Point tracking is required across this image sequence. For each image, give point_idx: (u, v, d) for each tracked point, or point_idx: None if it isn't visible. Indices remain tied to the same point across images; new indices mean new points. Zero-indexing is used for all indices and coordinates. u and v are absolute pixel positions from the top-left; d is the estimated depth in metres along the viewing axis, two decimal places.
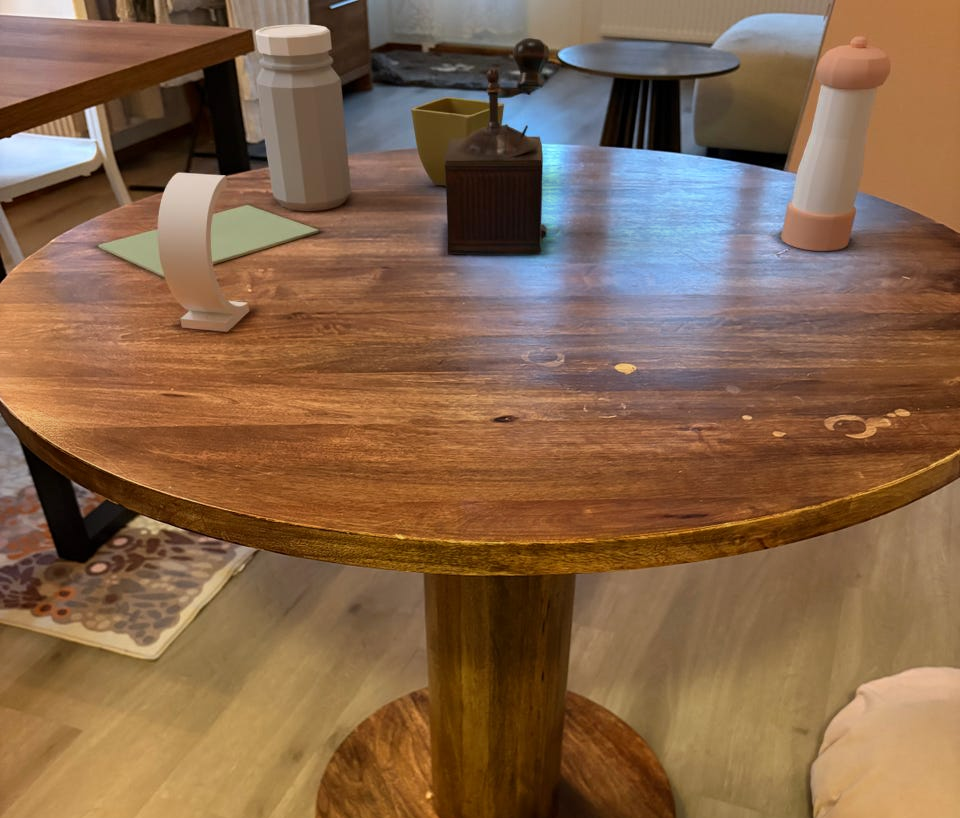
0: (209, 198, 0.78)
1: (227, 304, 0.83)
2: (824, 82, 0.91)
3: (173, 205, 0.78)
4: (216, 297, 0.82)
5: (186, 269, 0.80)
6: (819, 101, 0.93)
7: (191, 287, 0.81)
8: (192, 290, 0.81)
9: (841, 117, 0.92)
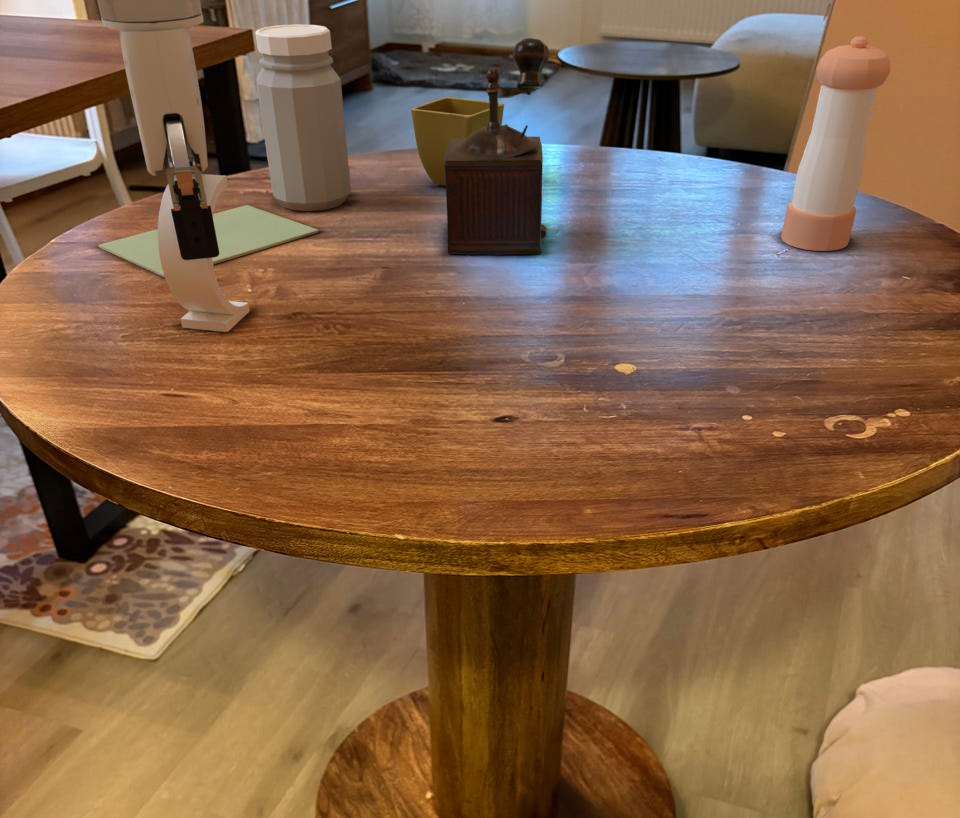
0: (209, 198, 0.78)
1: (227, 304, 0.83)
2: (824, 82, 0.91)
3: None
4: (216, 297, 0.82)
5: (187, 270, 0.80)
6: (819, 101, 0.93)
7: (191, 287, 0.81)
8: (192, 290, 0.81)
9: (841, 117, 0.92)
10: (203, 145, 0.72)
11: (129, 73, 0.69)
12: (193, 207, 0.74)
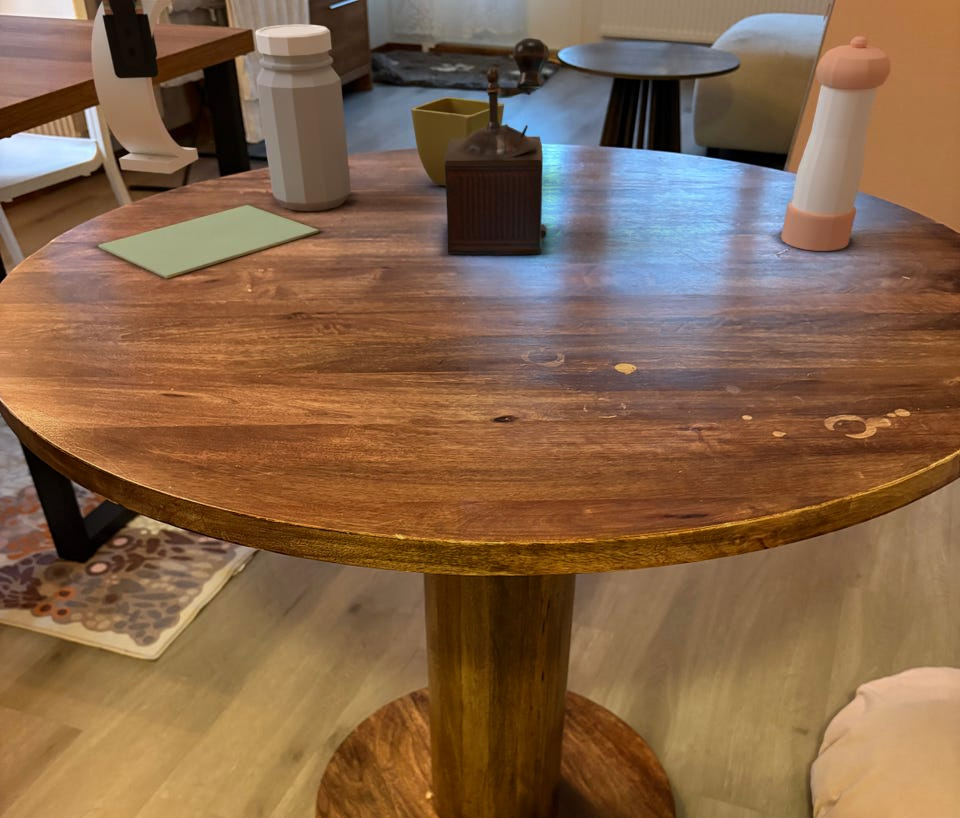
0: (149, 12, 0.70)
1: (171, 142, 0.76)
2: (824, 82, 0.91)
3: None
4: (157, 130, 0.74)
5: (123, 94, 0.72)
6: (819, 101, 0.93)
7: (129, 117, 0.73)
8: (130, 121, 0.74)
9: (841, 117, 0.92)
10: None
11: None
12: (126, 10, 0.67)
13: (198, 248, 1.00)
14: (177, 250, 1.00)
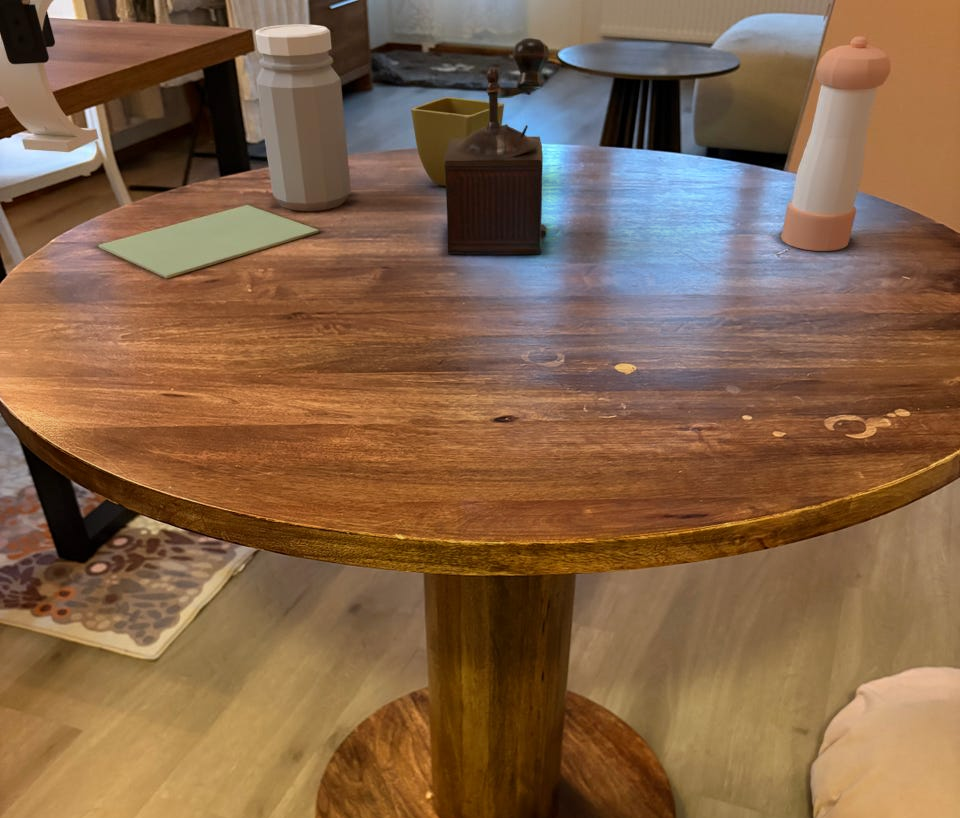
0: (39, 2, 0.77)
1: (68, 123, 0.82)
2: (824, 82, 0.91)
3: None
4: (53, 112, 0.80)
5: (19, 79, 0.78)
6: (819, 101, 0.93)
7: (26, 100, 0.80)
8: (28, 104, 0.80)
9: (841, 117, 0.92)
10: None
11: None
12: (13, 1, 0.73)
13: (198, 248, 1.00)
14: (177, 250, 1.00)
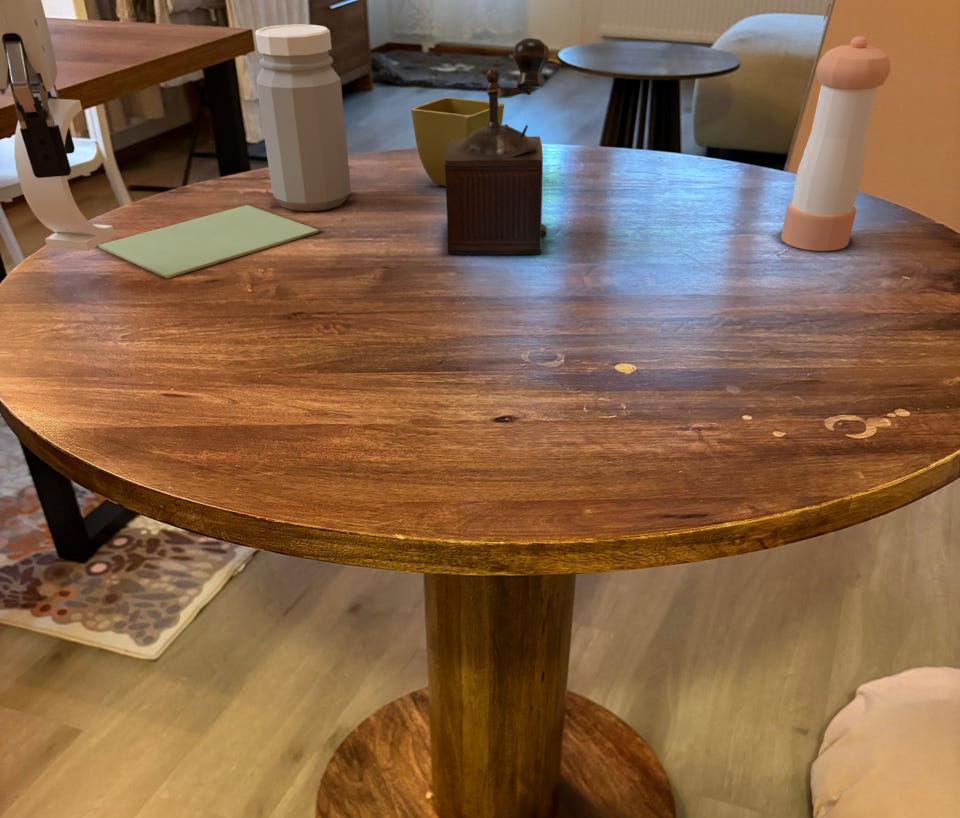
0: (61, 120, 0.83)
1: (87, 224, 0.89)
2: (824, 82, 0.91)
3: None
4: (74, 216, 0.87)
5: (43, 189, 0.85)
6: (819, 101, 0.93)
7: (50, 206, 0.86)
8: (51, 209, 0.87)
9: (841, 117, 0.92)
10: (44, 65, 0.78)
11: None
12: (39, 125, 0.80)
13: (198, 248, 1.00)
14: (177, 250, 1.00)
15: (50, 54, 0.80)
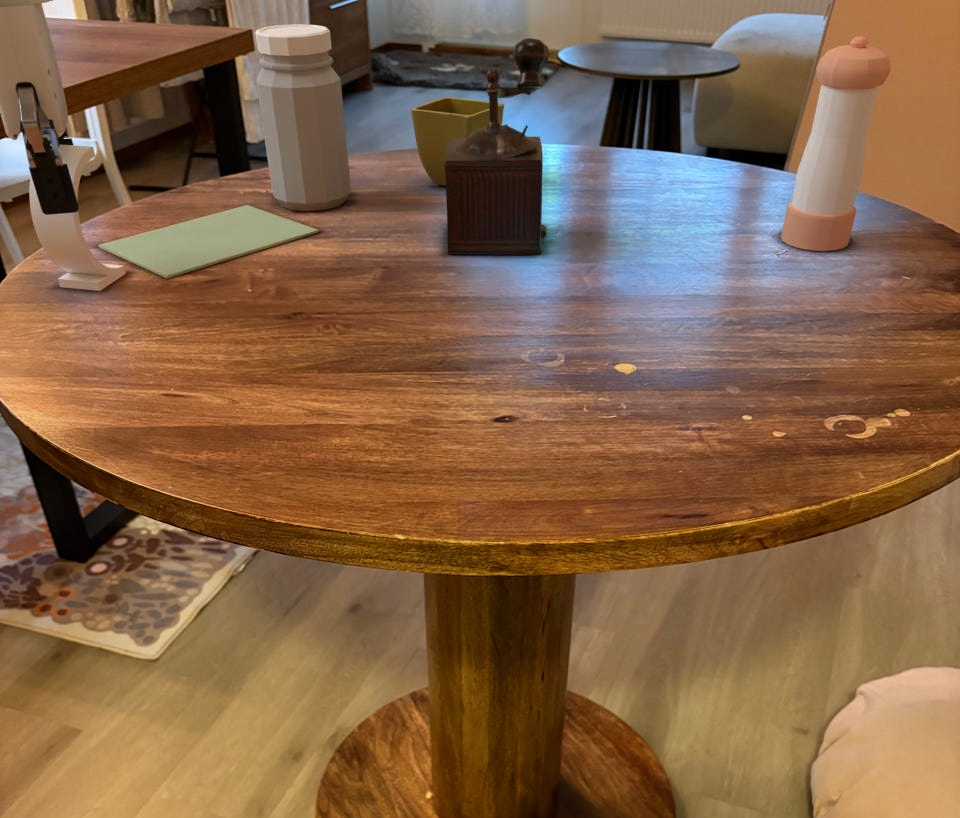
0: (75, 166, 0.86)
1: (99, 265, 0.91)
2: (824, 82, 0.91)
3: None
4: (86, 258, 0.89)
5: (57, 232, 0.88)
6: (819, 101, 0.93)
7: (63, 248, 0.89)
8: (64, 251, 0.89)
9: (841, 117, 0.92)
10: (56, 112, 0.80)
11: None
12: (48, 164, 0.81)
13: (198, 248, 1.00)
14: (177, 250, 1.00)
15: (62, 100, 0.82)
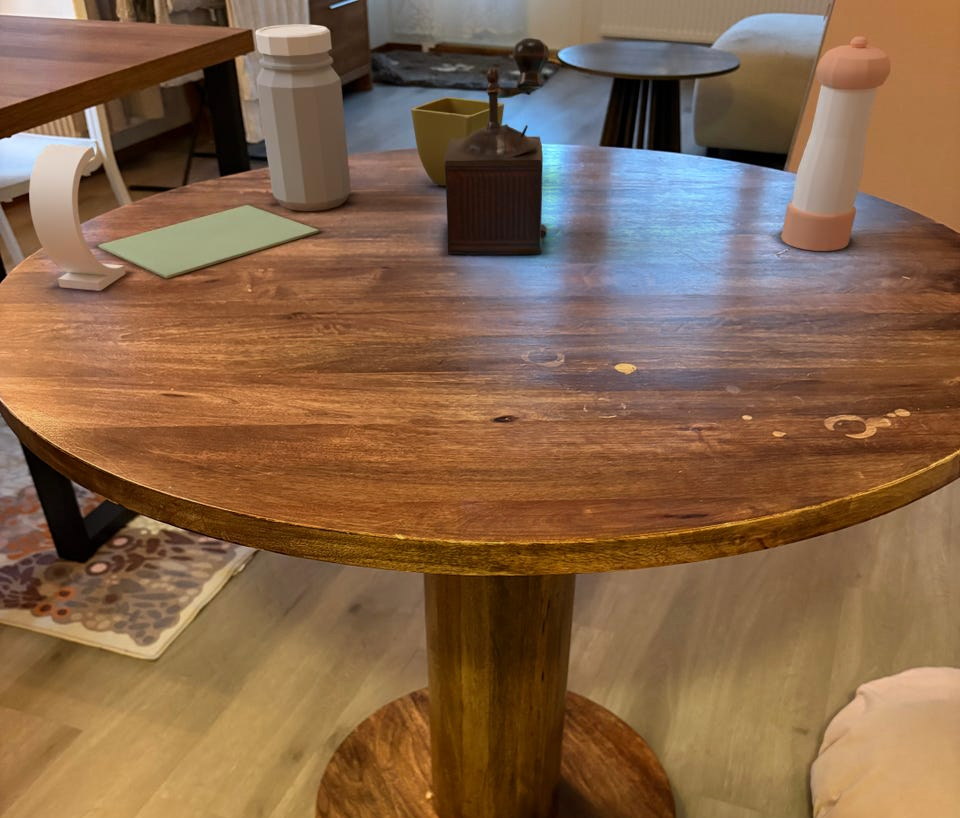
0: (75, 166, 0.86)
1: (99, 265, 0.91)
2: (824, 82, 0.91)
3: (43, 173, 0.86)
4: (86, 258, 0.89)
5: (57, 232, 0.88)
6: (819, 101, 0.93)
7: (63, 248, 0.89)
8: (64, 251, 0.89)
9: (841, 117, 0.92)
10: None
11: None
12: None
13: (198, 248, 1.00)
14: (177, 250, 1.00)
15: None
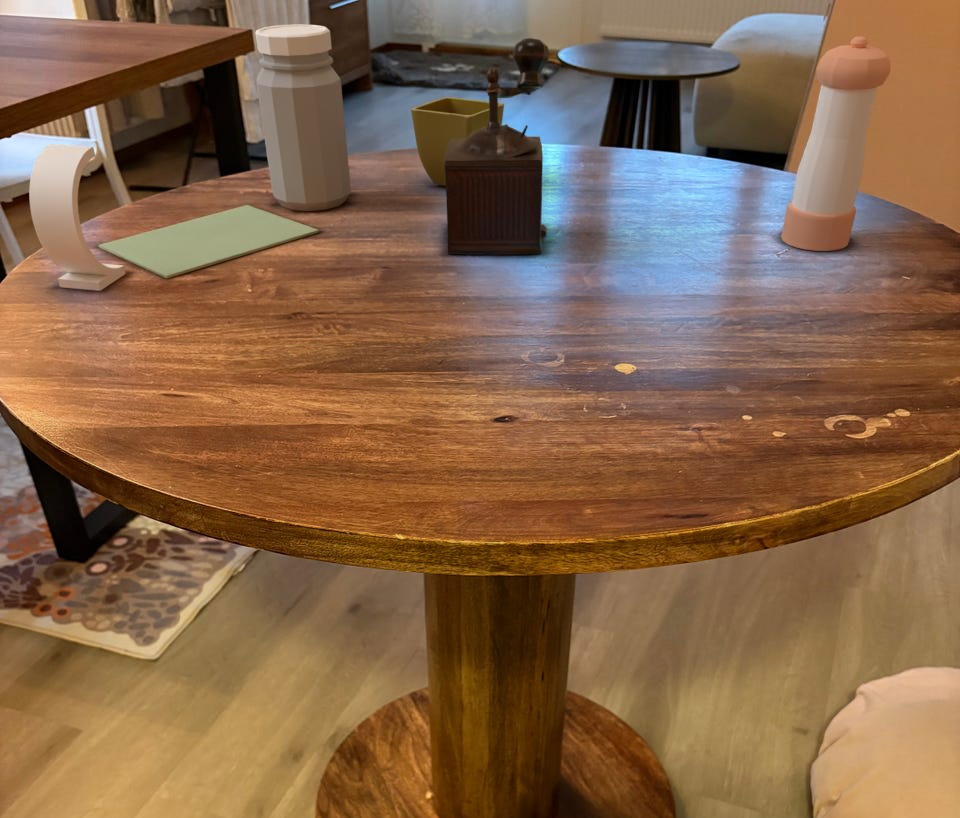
0: (75, 166, 0.86)
1: (99, 265, 0.91)
2: (824, 82, 0.91)
3: (43, 173, 0.86)
4: (87, 258, 0.89)
5: (57, 232, 0.88)
6: (819, 101, 0.93)
7: (63, 248, 0.89)
8: (64, 251, 0.89)
9: (841, 117, 0.92)
10: None
11: None
12: None
13: (198, 248, 1.00)
14: (177, 250, 1.00)
15: None
